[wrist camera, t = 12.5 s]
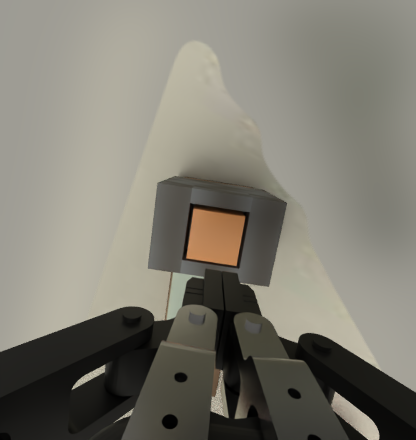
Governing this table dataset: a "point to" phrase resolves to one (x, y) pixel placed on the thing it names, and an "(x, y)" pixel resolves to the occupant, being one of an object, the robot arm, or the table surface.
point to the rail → (223, 198)
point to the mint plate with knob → (177, 293)
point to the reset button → (215, 234)
